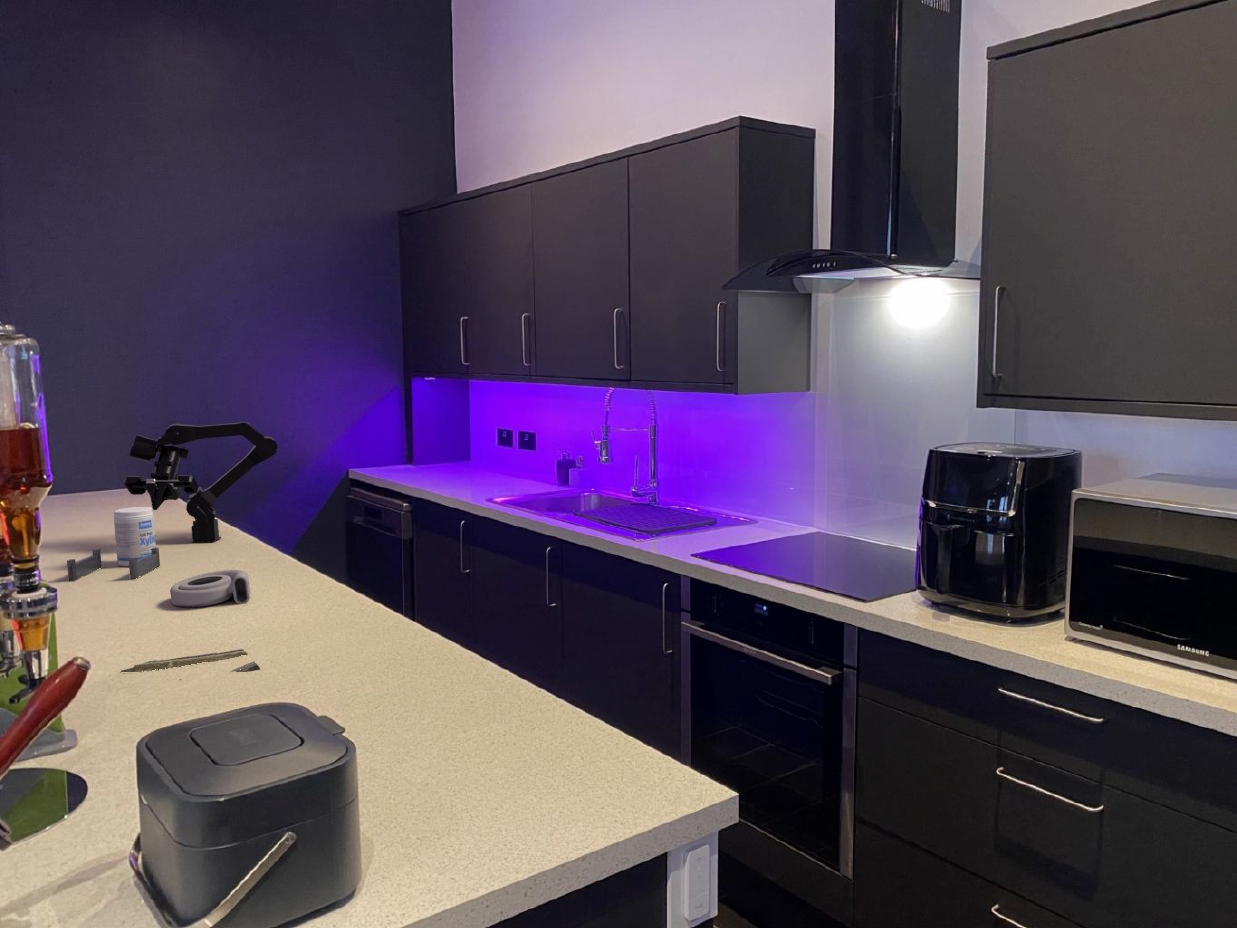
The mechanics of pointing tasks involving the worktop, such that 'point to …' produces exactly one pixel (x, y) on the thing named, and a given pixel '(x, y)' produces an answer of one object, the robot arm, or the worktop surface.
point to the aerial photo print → (194, 662)
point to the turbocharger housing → (211, 589)
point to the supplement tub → (134, 533)
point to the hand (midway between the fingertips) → (154, 509)
